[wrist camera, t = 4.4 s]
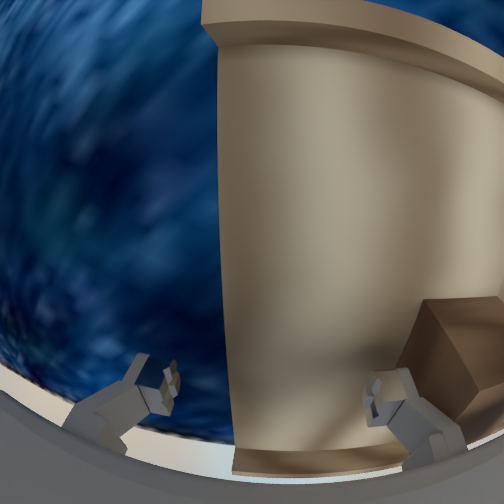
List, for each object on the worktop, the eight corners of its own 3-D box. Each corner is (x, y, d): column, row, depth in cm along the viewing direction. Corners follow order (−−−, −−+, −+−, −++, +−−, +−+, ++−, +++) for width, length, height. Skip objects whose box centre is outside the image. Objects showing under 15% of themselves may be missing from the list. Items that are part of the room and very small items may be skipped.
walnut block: (388, 380, 11) (411, 463, 7) (423, 299, 9) (479, 391, 5) (459, 369, 11) (490, 434, 6) (497, 295, 9) (550, 361, 4)
